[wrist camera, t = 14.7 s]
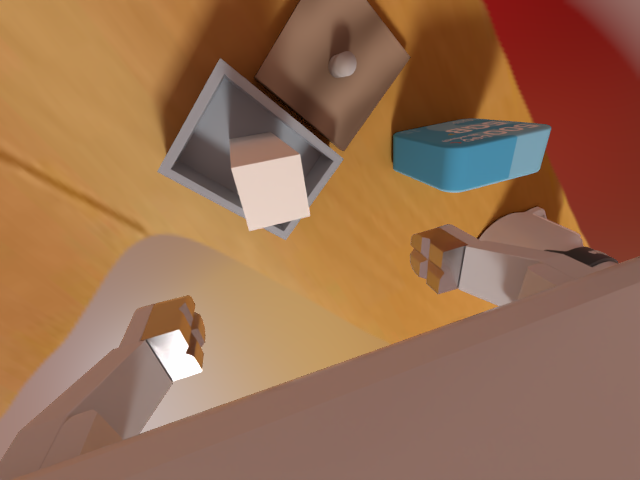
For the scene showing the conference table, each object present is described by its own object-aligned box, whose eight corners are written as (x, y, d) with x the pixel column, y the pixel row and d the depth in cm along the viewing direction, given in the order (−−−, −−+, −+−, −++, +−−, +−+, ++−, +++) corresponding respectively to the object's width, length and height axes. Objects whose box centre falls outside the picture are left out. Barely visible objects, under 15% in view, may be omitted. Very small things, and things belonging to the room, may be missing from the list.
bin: (328, 151, 33) (343, 159, 29) (278, 223, 35) (285, 240, 31) (221, 64, 26) (220, 57, 22) (167, 160, 28) (157, 171, 24)
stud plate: (402, 59, 31) (424, 54, 27) (339, 149, 33) (352, 155, 30) (323, -41, 25) (339, -63, 21) (254, 77, 27) (257, 74, 24)
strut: (270, 131, 29) (300, 154, 17) (278, 171, 31) (310, 216, 19) (229, 139, 28) (231, 168, 16) (240, 179, 30) (249, 231, 19)
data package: (467, 117, 36) (560, 124, 26) (463, 151, 39) (547, 170, 28) (388, 133, 34) (456, 148, 24) (388, 168, 36) (450, 195, 26)
